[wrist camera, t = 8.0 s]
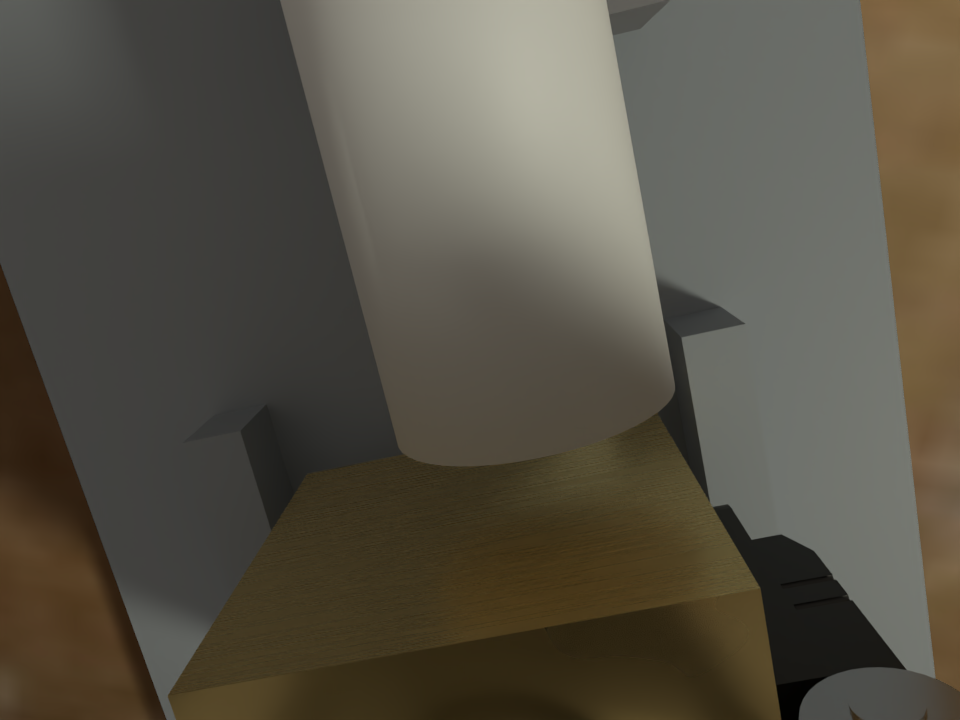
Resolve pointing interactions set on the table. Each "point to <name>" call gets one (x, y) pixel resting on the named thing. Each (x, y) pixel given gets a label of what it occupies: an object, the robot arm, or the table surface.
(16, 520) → the table surface
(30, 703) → the table surface
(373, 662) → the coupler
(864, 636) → the robot arm
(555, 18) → the twin roller base
